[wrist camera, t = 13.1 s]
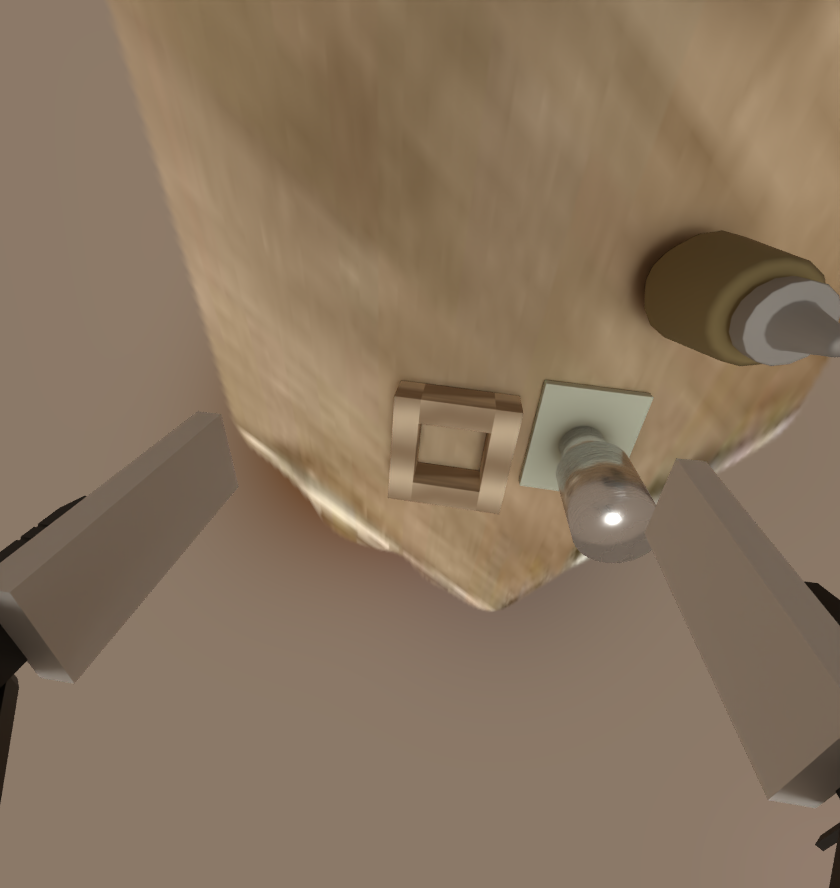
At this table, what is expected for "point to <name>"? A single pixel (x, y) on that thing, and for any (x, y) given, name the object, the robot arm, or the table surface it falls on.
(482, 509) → the bore block
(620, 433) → the mat
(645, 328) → the table surface
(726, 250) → the squeeze bottle
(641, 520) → the metal cylinder
